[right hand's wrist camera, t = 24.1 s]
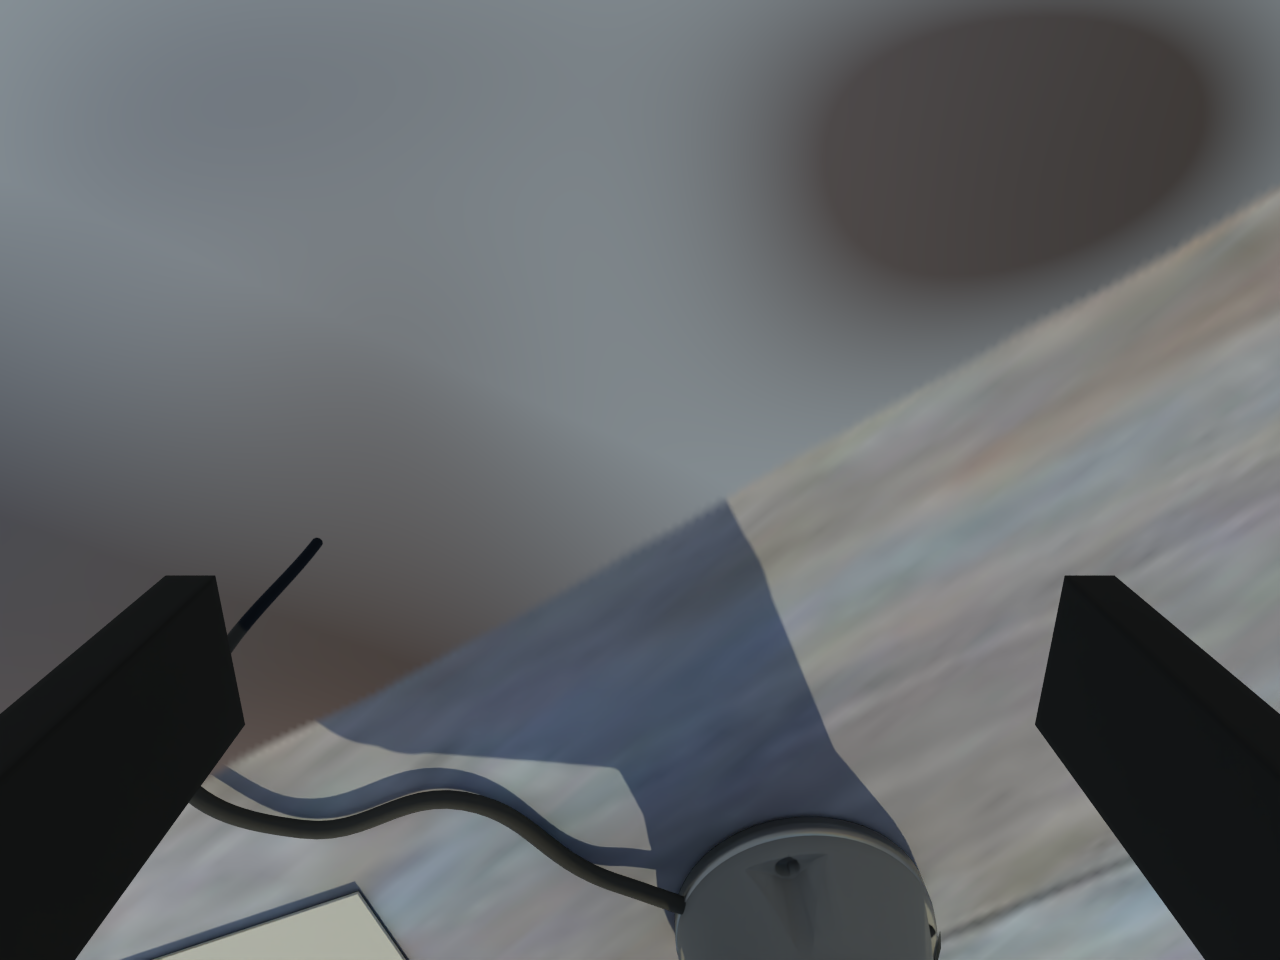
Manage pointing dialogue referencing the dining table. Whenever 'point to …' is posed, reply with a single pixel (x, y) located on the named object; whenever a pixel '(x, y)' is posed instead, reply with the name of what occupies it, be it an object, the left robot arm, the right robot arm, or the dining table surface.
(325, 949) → the invitation card
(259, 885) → the dining table surface
